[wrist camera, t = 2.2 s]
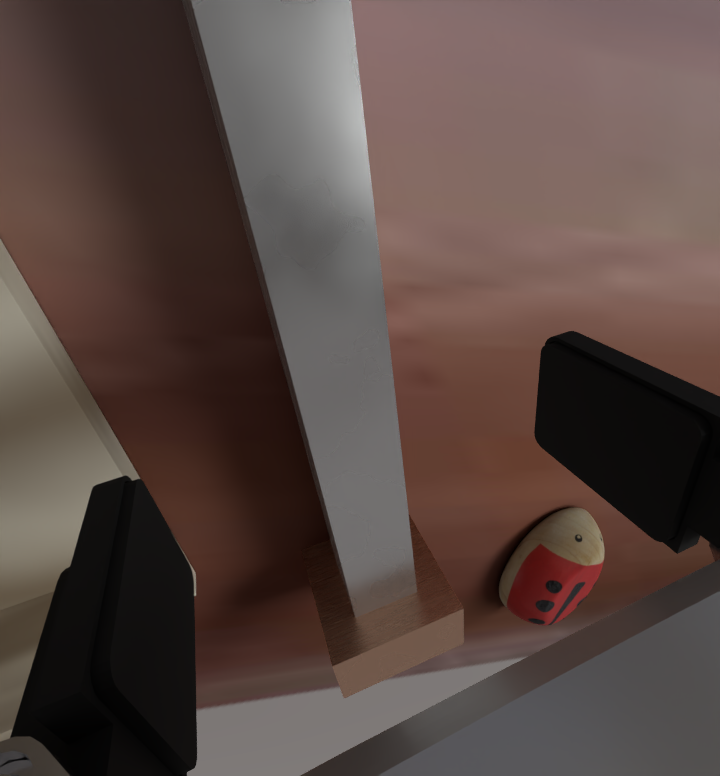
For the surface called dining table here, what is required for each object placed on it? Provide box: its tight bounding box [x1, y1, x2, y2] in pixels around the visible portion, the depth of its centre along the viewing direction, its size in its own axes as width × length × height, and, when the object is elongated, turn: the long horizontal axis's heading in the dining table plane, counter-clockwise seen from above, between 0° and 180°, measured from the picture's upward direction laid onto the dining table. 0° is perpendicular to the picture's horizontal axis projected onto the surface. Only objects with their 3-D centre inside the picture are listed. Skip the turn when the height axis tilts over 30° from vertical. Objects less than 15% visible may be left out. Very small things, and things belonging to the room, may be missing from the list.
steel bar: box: [182, 0, 464, 698], centre depth 13 cm, size 32×6×6 cm, turn 9°
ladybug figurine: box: [499, 507, 604, 625], centre depth 29 cm, size 7×10×4 cm
